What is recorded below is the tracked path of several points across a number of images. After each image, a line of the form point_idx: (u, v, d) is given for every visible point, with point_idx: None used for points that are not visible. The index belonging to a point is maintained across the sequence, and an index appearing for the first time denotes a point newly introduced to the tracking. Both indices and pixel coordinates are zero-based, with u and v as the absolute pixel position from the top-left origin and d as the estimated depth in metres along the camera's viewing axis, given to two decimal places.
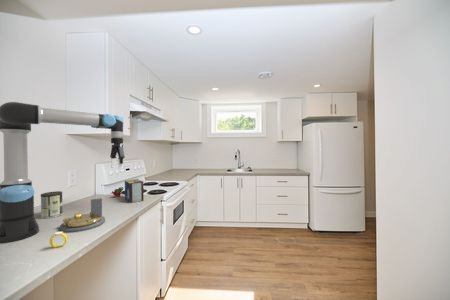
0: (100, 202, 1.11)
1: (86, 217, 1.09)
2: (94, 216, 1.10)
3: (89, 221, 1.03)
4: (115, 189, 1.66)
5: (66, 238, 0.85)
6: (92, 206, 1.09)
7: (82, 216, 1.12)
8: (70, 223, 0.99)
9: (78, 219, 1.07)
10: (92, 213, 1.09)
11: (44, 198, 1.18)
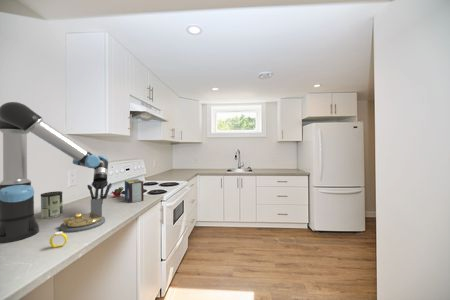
0: (100, 202, 1.11)
1: (86, 217, 1.09)
2: (94, 216, 1.09)
3: (88, 221, 1.03)
4: (115, 189, 1.66)
5: (66, 238, 0.85)
6: (92, 206, 1.09)
7: (82, 216, 1.12)
8: (70, 223, 0.99)
9: (78, 219, 1.07)
10: (92, 213, 1.09)
11: (44, 198, 1.18)
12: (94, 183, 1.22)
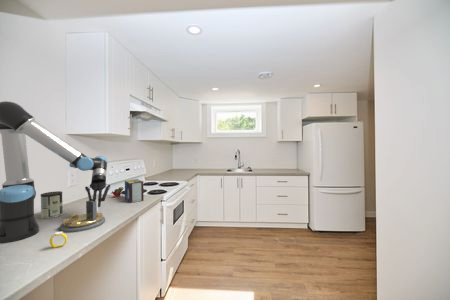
0: (92, 205, 1.05)
1: (86, 218, 1.08)
2: (88, 219, 1.06)
3: (73, 223, 1.00)
4: (115, 189, 1.66)
5: (66, 238, 0.85)
6: (87, 208, 1.06)
7: None
8: (63, 221, 1.02)
9: (79, 218, 1.08)
10: (87, 215, 1.06)
11: (44, 198, 1.18)
12: (92, 185, 1.17)
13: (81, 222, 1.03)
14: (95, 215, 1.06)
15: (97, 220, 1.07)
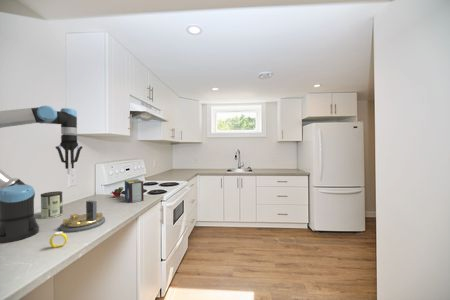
0: (92, 205, 1.05)
1: (86, 218, 1.08)
2: (88, 219, 1.06)
3: (73, 223, 1.00)
4: (115, 189, 1.66)
5: (66, 238, 0.85)
6: (87, 208, 1.06)
7: None
8: (63, 221, 1.02)
9: (79, 218, 1.08)
10: (87, 215, 1.06)
11: (44, 198, 1.18)
12: (63, 145, 1.16)
13: (81, 222, 1.03)
14: (95, 215, 1.06)
15: (97, 220, 1.07)
